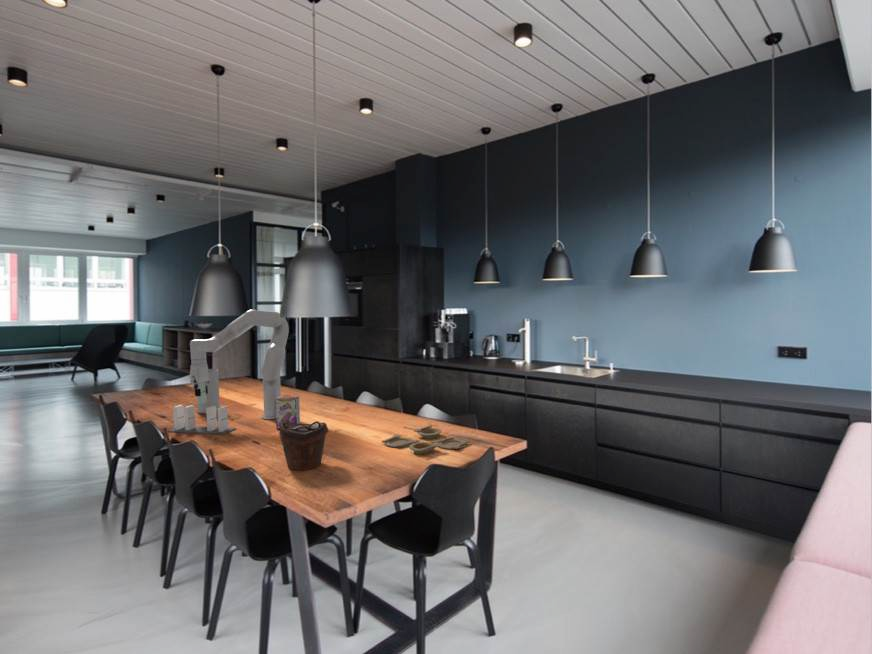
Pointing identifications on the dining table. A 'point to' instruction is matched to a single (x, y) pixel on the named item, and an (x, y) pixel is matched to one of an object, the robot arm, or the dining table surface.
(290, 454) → the brown basket
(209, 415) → the domino
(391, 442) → the tableware set
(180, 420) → the domino
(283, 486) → the dining table surface
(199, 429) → the rubber mat
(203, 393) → the domino
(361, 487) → the dining table surface
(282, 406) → the candy bar box
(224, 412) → the domino
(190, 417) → the domino
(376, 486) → the dining table surface
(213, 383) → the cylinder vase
